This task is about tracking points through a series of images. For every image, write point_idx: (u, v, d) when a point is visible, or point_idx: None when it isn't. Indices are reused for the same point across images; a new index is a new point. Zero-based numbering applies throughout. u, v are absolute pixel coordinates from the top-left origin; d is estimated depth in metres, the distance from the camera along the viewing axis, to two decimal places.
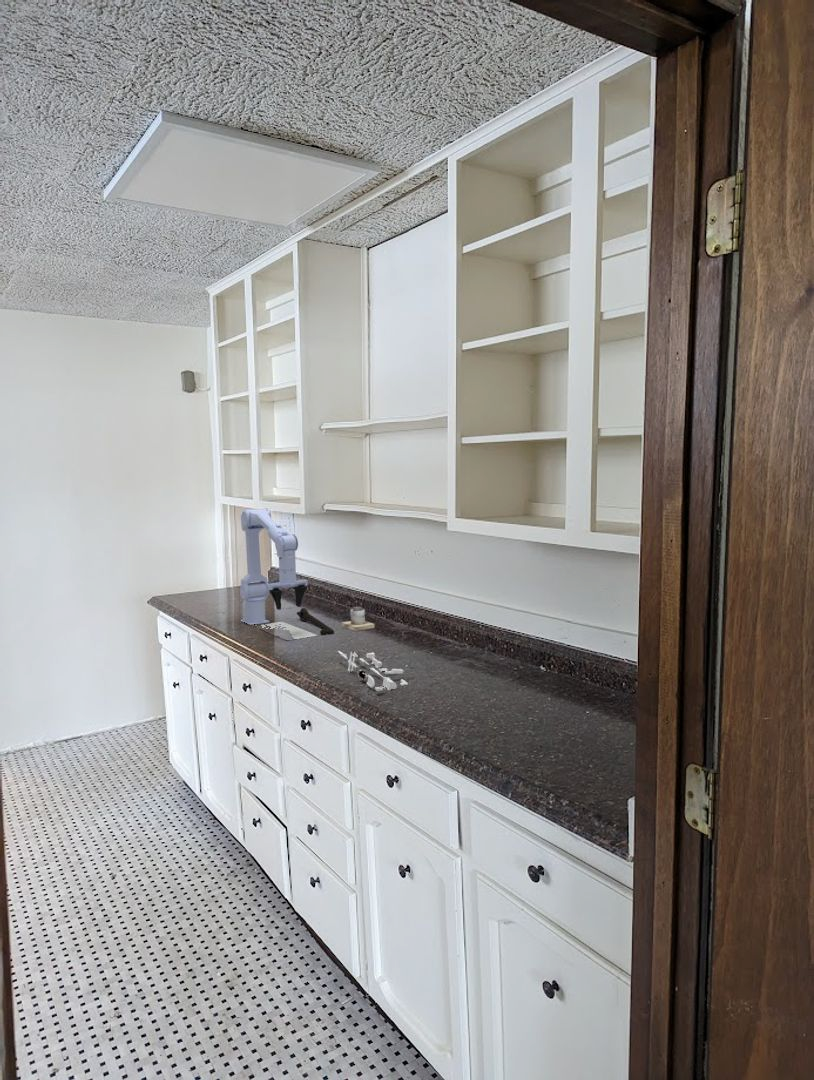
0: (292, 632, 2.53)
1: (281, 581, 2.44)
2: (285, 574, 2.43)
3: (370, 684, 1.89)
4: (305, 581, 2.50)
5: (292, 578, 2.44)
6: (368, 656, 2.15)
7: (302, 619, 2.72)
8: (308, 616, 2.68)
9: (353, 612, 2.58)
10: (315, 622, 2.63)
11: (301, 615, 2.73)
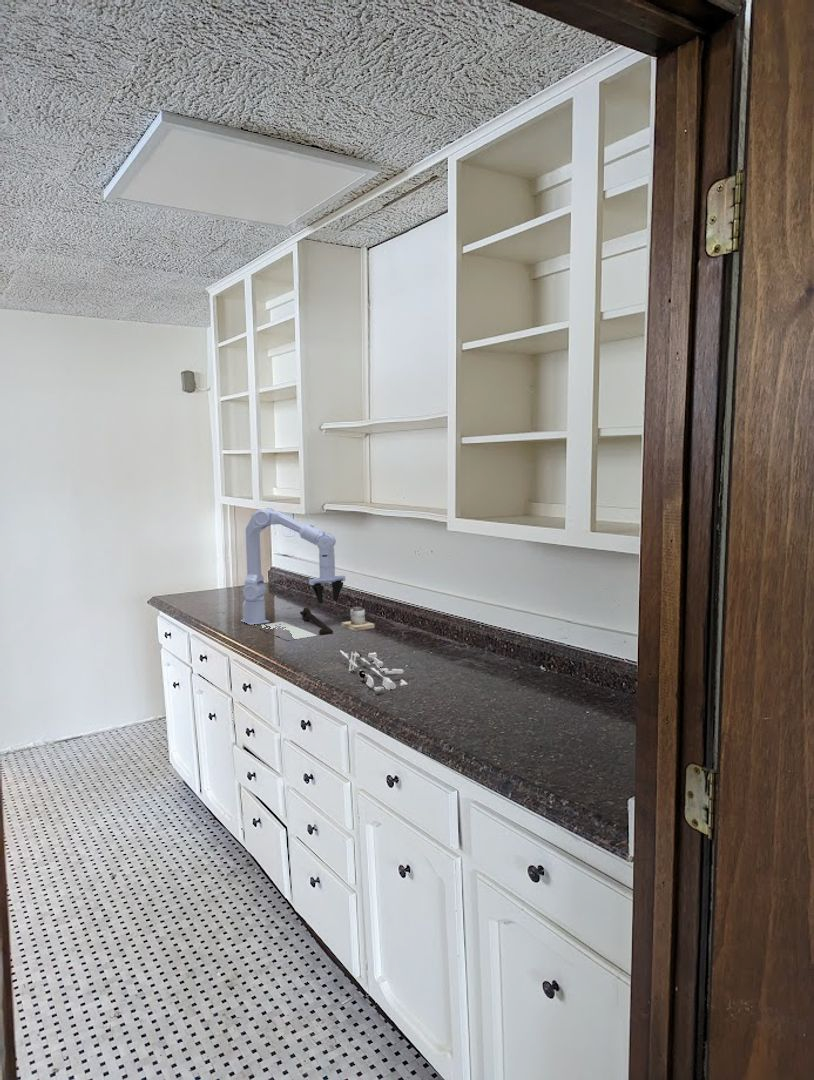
0: (292, 632, 2.53)
1: (321, 577, 2.63)
2: (325, 571, 2.62)
3: (369, 684, 1.89)
4: (343, 577, 2.68)
5: (332, 574, 2.63)
6: (370, 656, 2.15)
7: (305, 619, 2.72)
8: (310, 616, 2.69)
9: (353, 612, 2.58)
10: (316, 622, 2.64)
11: (304, 615, 2.74)
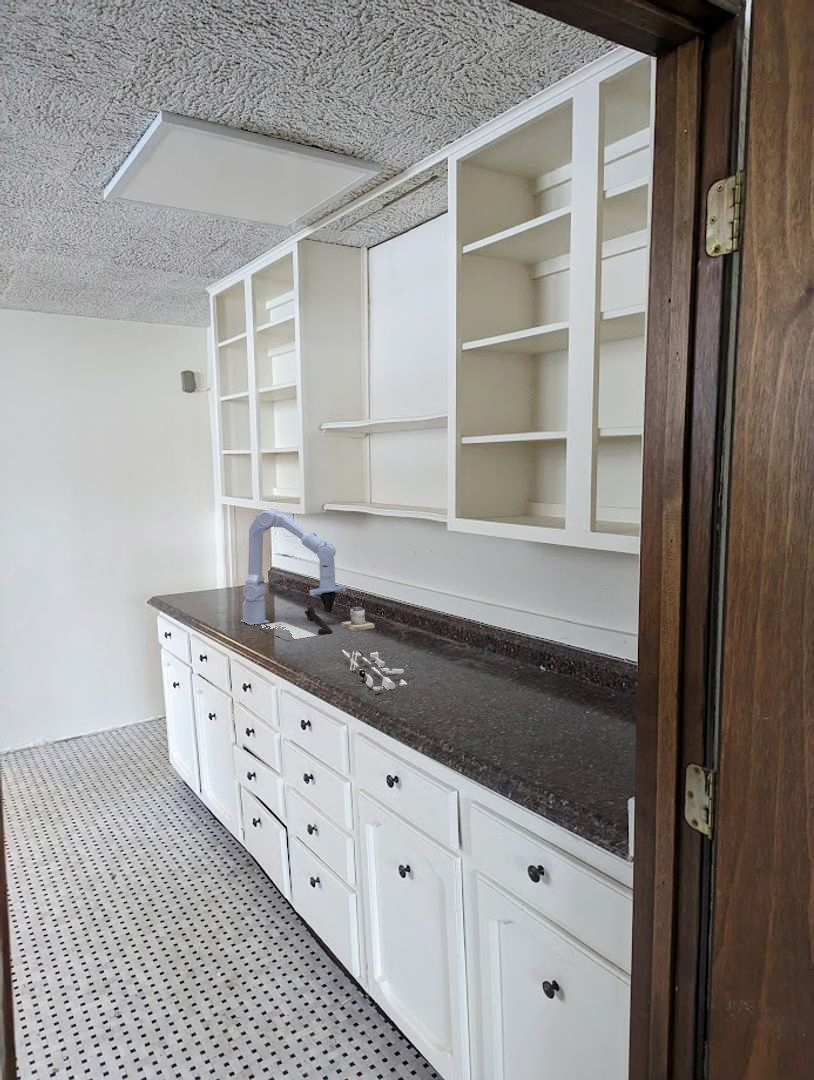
0: (292, 632, 2.53)
1: (322, 587, 2.63)
2: (326, 581, 2.63)
3: (369, 684, 1.89)
4: (343, 587, 2.69)
5: (332, 585, 2.64)
6: (372, 655, 2.15)
7: (309, 618, 2.73)
8: (313, 615, 2.70)
9: (353, 612, 2.58)
10: (318, 621, 2.64)
11: (308, 614, 2.75)
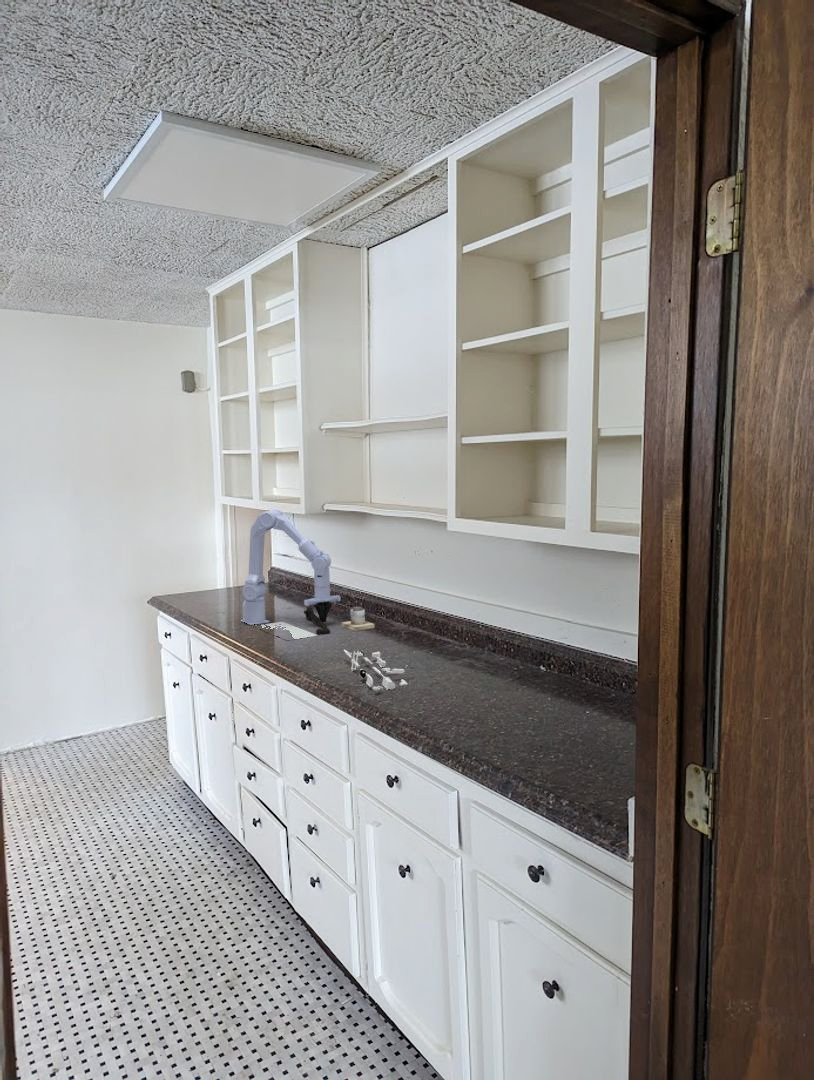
0: (292, 632, 2.53)
1: (316, 597, 2.62)
2: (320, 591, 2.62)
3: (369, 683, 1.89)
4: (338, 597, 2.68)
5: (327, 595, 2.63)
6: (373, 655, 2.15)
7: (307, 618, 2.74)
8: (312, 615, 2.70)
9: (353, 612, 2.58)
10: (317, 621, 2.64)
11: (307, 614, 2.75)
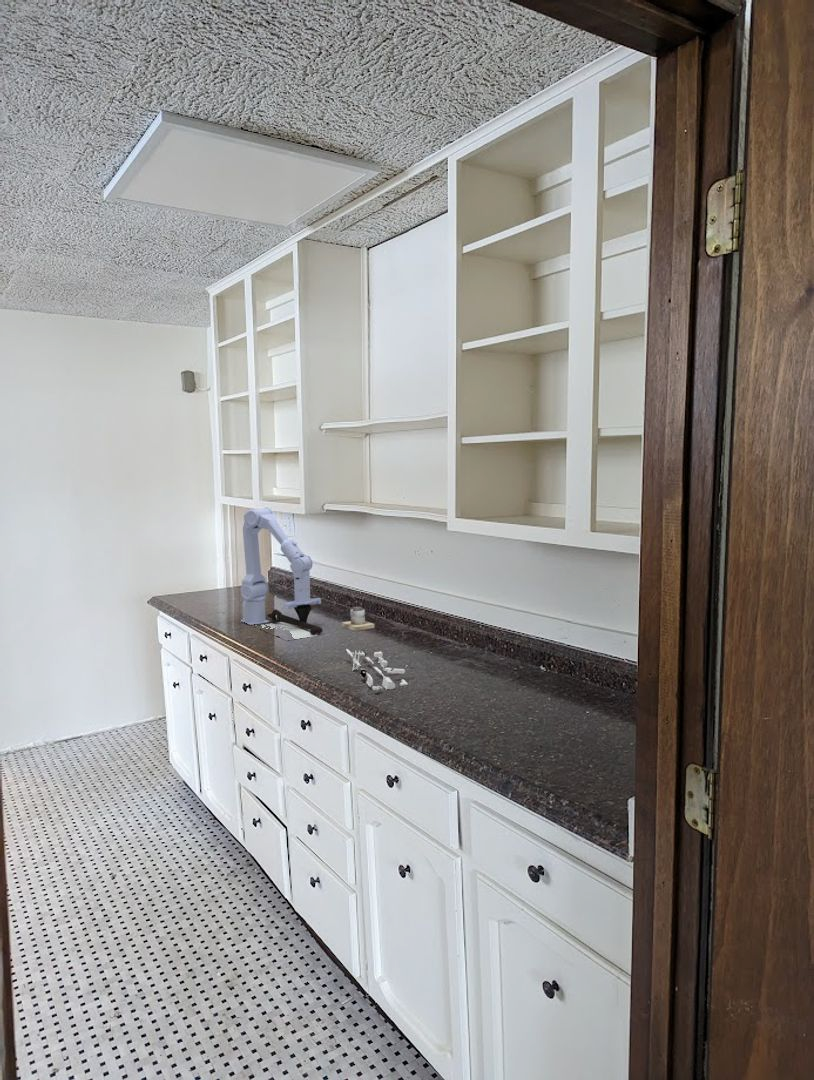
0: (292, 632, 2.53)
1: (296, 600, 2.58)
2: (300, 594, 2.57)
3: (369, 683, 1.90)
4: (319, 600, 2.63)
5: (307, 597, 2.58)
6: (375, 655, 2.16)
7: (276, 621, 2.66)
8: (284, 617, 2.64)
9: (353, 612, 2.58)
10: (295, 622, 2.60)
11: (273, 617, 2.68)
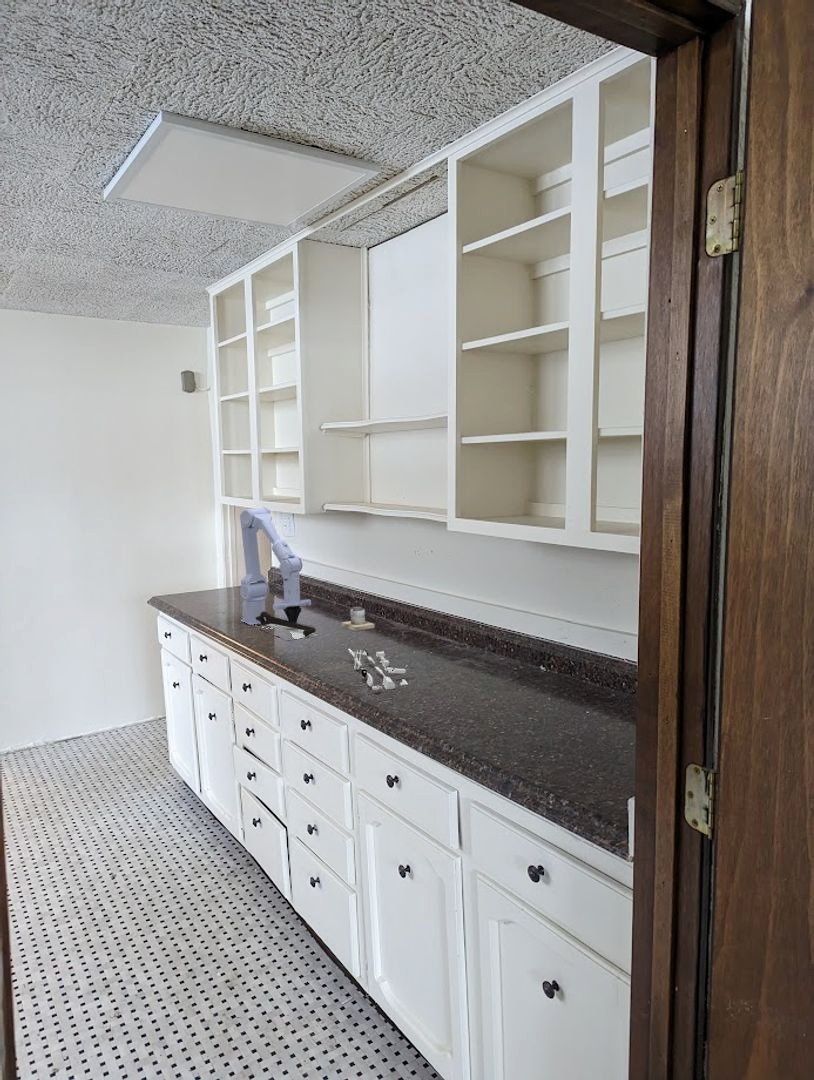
0: (292, 632, 2.53)
1: (286, 601, 2.55)
2: (290, 595, 2.54)
3: (369, 683, 1.90)
4: (309, 601, 2.60)
5: (296, 599, 2.55)
6: (377, 655, 2.16)
7: (265, 623, 2.63)
8: (273, 619, 2.60)
9: (353, 612, 2.58)
10: (285, 624, 2.57)
11: (262, 619, 2.64)
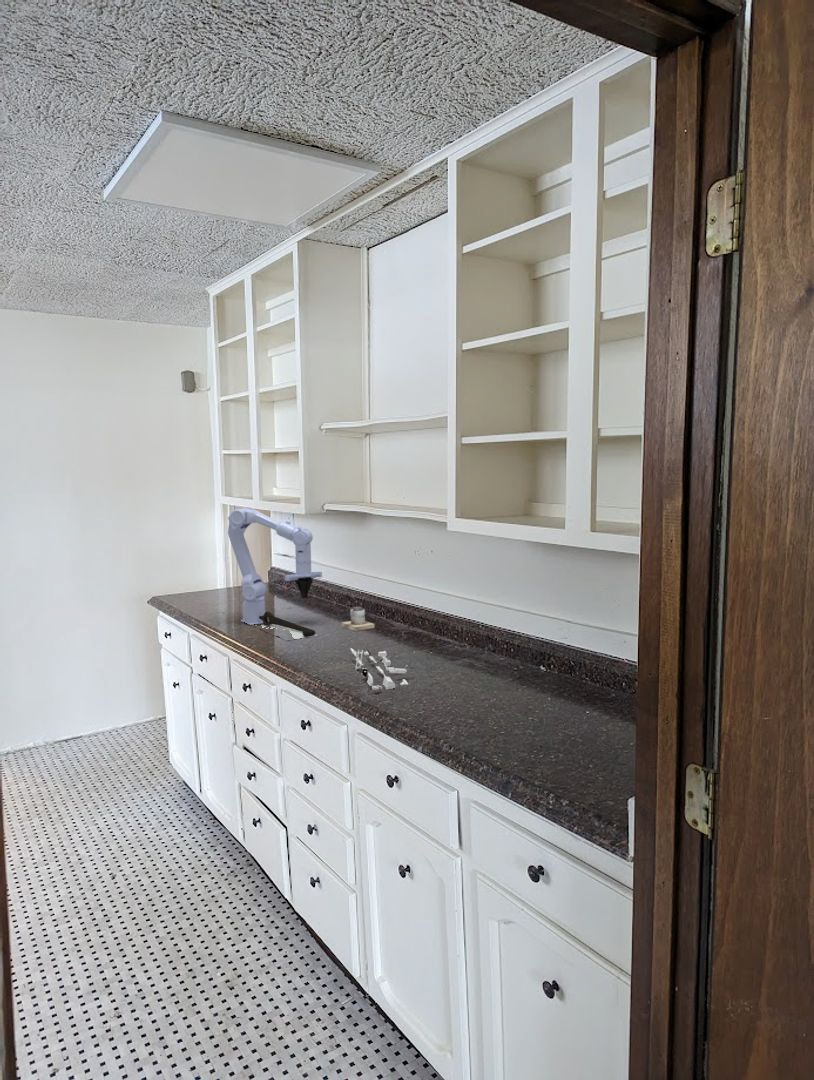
0: (292, 632, 2.53)
1: (297, 573, 2.62)
2: (301, 566, 2.61)
3: (369, 682, 1.90)
4: (320, 573, 2.67)
5: (308, 570, 2.62)
6: (379, 654, 2.16)
7: (267, 623, 2.63)
8: (276, 619, 2.61)
9: (353, 612, 2.58)
10: (287, 624, 2.57)
11: (265, 619, 2.65)
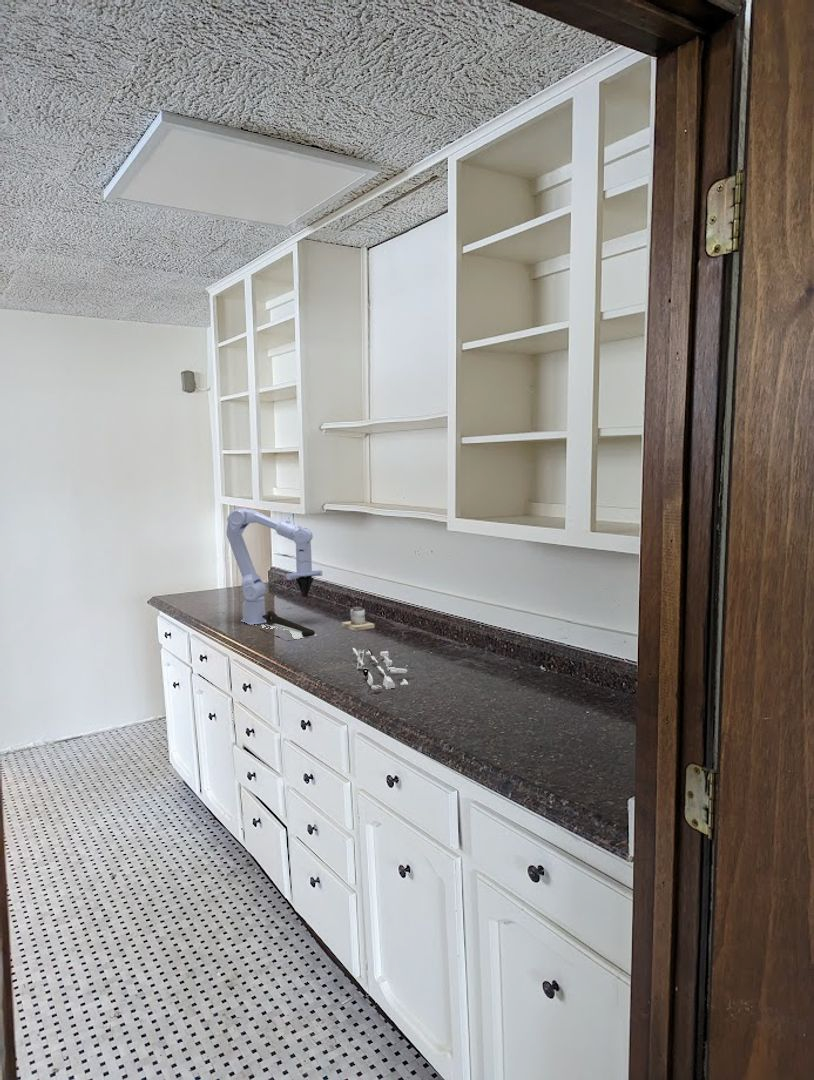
0: (292, 632, 2.53)
1: (298, 571, 2.64)
2: (302, 565, 2.63)
3: (369, 682, 1.90)
4: (320, 572, 2.69)
5: (308, 569, 2.64)
6: (381, 654, 2.16)
7: (270, 622, 2.64)
8: (278, 618, 2.62)
9: (353, 612, 2.58)
10: (288, 624, 2.58)
11: (268, 618, 2.66)
